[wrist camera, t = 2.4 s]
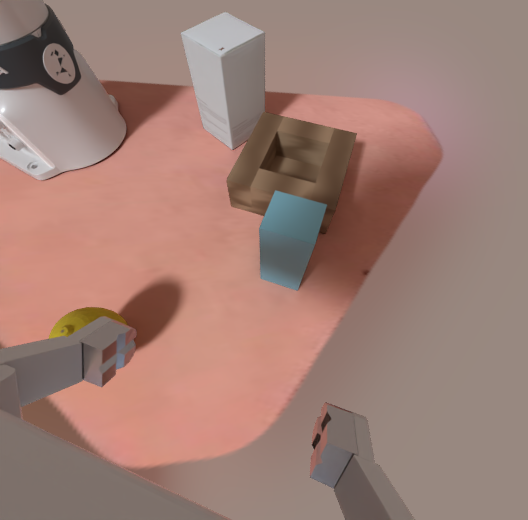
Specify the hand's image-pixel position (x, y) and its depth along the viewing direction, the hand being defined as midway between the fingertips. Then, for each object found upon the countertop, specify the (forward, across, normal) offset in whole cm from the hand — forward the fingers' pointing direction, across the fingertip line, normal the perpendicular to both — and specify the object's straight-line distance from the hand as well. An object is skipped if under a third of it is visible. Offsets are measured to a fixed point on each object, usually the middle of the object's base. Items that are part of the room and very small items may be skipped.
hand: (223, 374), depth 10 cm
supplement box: (+36, +15, -12) cm, 40 cm away
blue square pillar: (+21, 0, +3) cm, 21 cm away
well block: (+30, +3, -6) cm, 31 cm away
